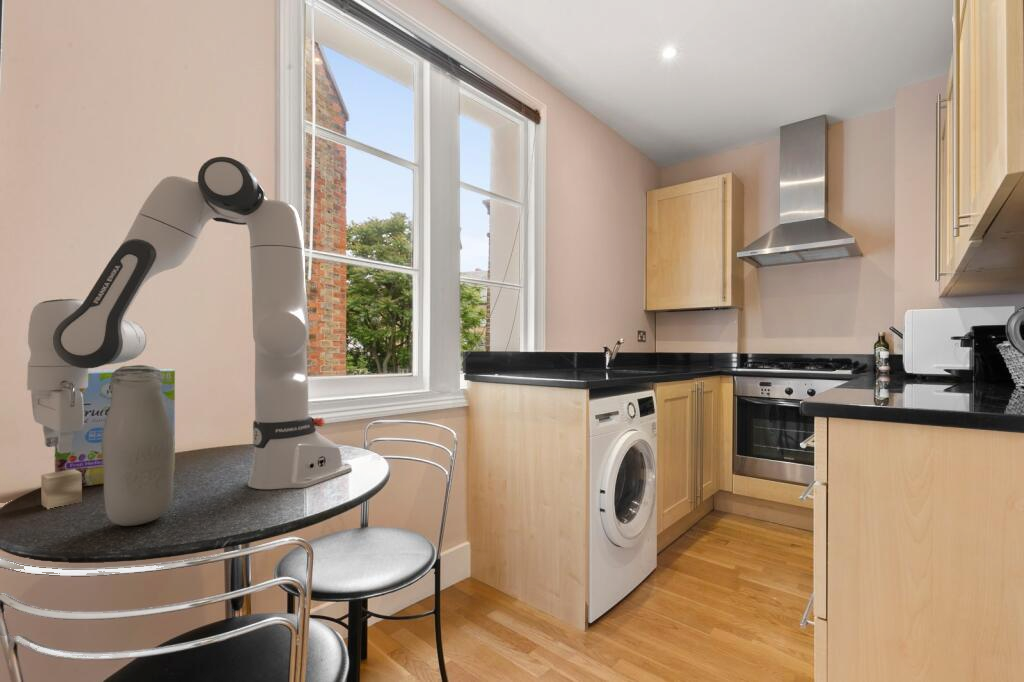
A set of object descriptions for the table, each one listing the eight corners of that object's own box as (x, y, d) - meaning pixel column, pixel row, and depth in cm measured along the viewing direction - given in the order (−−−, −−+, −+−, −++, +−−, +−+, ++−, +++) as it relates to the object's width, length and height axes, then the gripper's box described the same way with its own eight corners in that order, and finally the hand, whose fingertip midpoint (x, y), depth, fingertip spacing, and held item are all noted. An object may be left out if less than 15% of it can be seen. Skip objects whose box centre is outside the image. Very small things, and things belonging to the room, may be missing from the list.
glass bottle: (160, 508, 91) (158, 363, 91) (183, 519, 86) (181, 364, 85) (94, 525, 83) (91, 366, 83) (114, 539, 77) (112, 367, 77)
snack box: (53, 492, 102) (51, 373, 102) (58, 483, 109) (56, 371, 109) (177, 474, 116) (175, 368, 116) (174, 466, 123) (173, 367, 122)
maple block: (74, 497, 99) (74, 469, 99) (81, 502, 96) (81, 472, 96) (41, 504, 95) (41, 474, 95) (47, 509, 92) (47, 478, 92)
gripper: (95, 382, 92) (94, 453, 92) (66, 377, 103) (65, 440, 103) (50, 384, 86) (49, 460, 86) (25, 378, 98) (24, 445, 98)
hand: (57, 449), depth 95 cm, fingers open, 8 cm apart
